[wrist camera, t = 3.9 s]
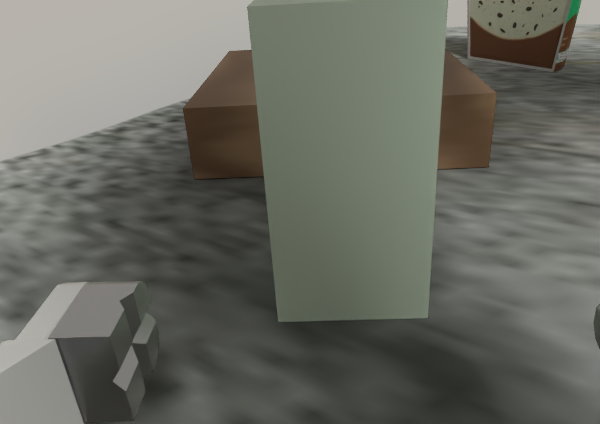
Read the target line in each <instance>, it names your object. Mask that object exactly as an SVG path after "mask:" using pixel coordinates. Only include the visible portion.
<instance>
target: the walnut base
mask: <svg viewBox="0 0 600 424" xmlns="http://www.w3.org/2000/svg"><path fill="white" fill-rule="evenodd" d="M496 98H497V93H496V92H495V91H494V90H493V89H492V88H491V87H489V86H488V85H487V84H486V83H485V82H483V81H482V80H481V79H480V78H479V77H478V76H476V75H475V74H474V73H473V72H472V71H471V70H469V69H468V68H467V67H466V66H465V65H464V64H462V63H461V62H460V61H459V60H458V59H457V58H455V57H454V56H453V55H452V54H451V53H450V52H448V51H447V50H446V49H445V56H444V71H443V87H442V103H441V119H440V134H439V150H438V166H437V169H452V168H476V167H489V161H490V152H491V143H492V134H493V125H494V116H495V107H496ZM183 112H184V118H185V124H186V130H187V137H188V143H189V149H190V155H191V161H192V167H193V174H194V179H211V178H235V177H259V176H264V172H263V162H262V152H261V142H260V131H259V121H258V111H257V101H256V90H255V80H254V70H253V60H252V50H241V51H229V52H228V53H227V55H226V56H225V57H224V58H223V59H222V61H221V62H220V63H219V65H218V66H217V67H216V68H215V69H214V71H213V72H212V73H211V75H210V76H209V77H208V78H207V79H206V81H205V82H204V83H203V84H202V85H201V87H200V88H199V89H198V90H197V92H196V93H195V94H194V95H193V97H192V98H191V99H190V100H189V102H188V103H187V104H186V105H185V106H184V108H183Z"/></svg>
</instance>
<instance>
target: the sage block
mask: <svg viewBox="0 0 600 424" xmlns="http://www.w3.org/2000/svg"><path fill="white" fill-rule="evenodd" d="M447 8H448V0H254V1H253V2H252V3H251V4H250V5H249V6H248V7H247V9H248V19H249V29H250V39H251V50H252V60H253V70H254V80H255V90H256V101H257V111H258V121H259V131H260V142H261V152H262V162H263V172H264V183H265V193H266V203H267V213H268V223H269V234H270V244H271V254H272V264H273V275H274V285H275V295H276V305H277V316H278V322H298V321H336V320H373V319H410V318H428V308H429V292H430V276H431V260H432V245H433V229H434V213H435V197H436V182H437V166H438V150H439V134H440V119H441V103H442V87H443V71H444V56H445V40H446V23H447Z"/></svg>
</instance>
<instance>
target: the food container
mask: <svg viewBox="0 0 600 424" xmlns="http://www.w3.org/2000/svg"><path fill="white" fill-rule="evenodd" d="M580 4H581V0H468V47H467V59H473V60H479V61H485V62H491V63H498V64H504V65H510V66H516V67H522V68H529V69H535V70H541V71H547V72H553V73H554V72H556V71H559V70H561V69H562V68H563V67H564V64H565V61H566V57H567V53H568V49H569V46H570V42H571V38H572V34H573V31H574V27H575V23H576V19H577V15H578V11H579V8H580Z"/></svg>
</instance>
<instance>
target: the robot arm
mask: <svg viewBox="0 0 600 424" xmlns="http://www.w3.org/2000/svg"><path fill="white" fill-rule="evenodd" d="M150 303H151V297H150V293H149V290H148V286H147V285H146V284H145V283H144V282H143V281H117V282H70V283H62V284H59V285H57V286H56V287H55V288H54V290H53V291H52V292H51V293H50V295H49V296H48V297H47V299H46V300H45V301H44V303H43V304H42V305H41V307H40V308H39V309H38V310H37V312H36V313H35V314H34V316H33V317H32V318H31V320H30V321H29V322H28V324H27V325H26V326H25V327H24V329H23V330H22V331H21V333H20V334H19V335H18V337H17V338H16V339H15V340H6V341H4V342H2V343H1V344H0V424H84V423H99V422H120V421H134V420H135V417H136V414H137V412H138V409H139V407H140V404H141V402H142V399H143V396H144V394H145V391H146V390H145V386H144V382H143V379H144V378H146V377H147V376H148V375H149V374H151V373H152V372H153V370H154V367H155V364H156V362H157V357H158V350H159V333H158V327H157V323H156V320H155V319H154V318H153V317H152V316H151V315H150V314H148V313H147V309H148V307H149V305H150ZM594 331H595V339H596V341H597V344H598V346H599V349H600V304H599V305H598V306H597V307H596V312H595V318H594Z"/></svg>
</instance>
